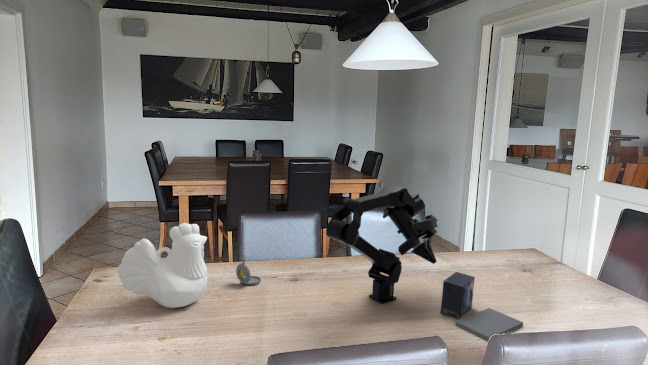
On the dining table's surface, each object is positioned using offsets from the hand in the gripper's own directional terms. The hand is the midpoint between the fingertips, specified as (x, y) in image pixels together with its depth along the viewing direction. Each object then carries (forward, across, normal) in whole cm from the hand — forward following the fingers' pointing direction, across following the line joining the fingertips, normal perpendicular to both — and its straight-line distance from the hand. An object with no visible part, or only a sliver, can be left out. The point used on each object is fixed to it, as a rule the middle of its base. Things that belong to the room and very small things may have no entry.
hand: (435, 262), depth 135 cm
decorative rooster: (-37, -50, +56) cm, 84 cm away
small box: (+15, 0, +4) cm, 16 cm away
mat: (+22, -4, -3) cm, 23 cm away
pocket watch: (-30, -23, +50) cm, 63 cm away
